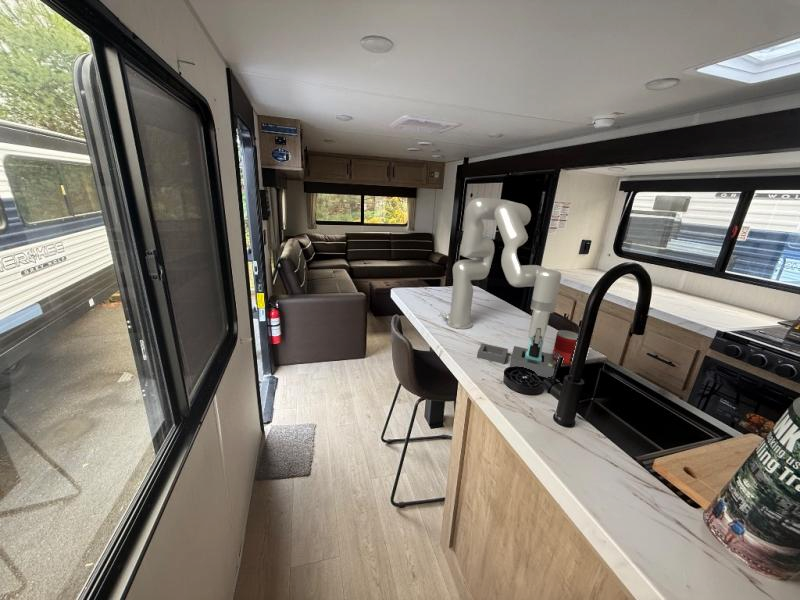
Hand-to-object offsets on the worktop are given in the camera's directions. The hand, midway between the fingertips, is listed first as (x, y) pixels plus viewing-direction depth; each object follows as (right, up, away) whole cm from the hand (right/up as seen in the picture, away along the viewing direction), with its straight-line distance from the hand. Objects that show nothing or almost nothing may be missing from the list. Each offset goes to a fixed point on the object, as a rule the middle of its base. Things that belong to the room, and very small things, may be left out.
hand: (533, 353), depth 110 cm
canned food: (+15, -4, +8) cm, 17 cm away
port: (0, -5, +2) cm, 5 cm away
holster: (-13, -2, +8) cm, 15 cm away
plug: (0, -3, +1) cm, 3 cm away
